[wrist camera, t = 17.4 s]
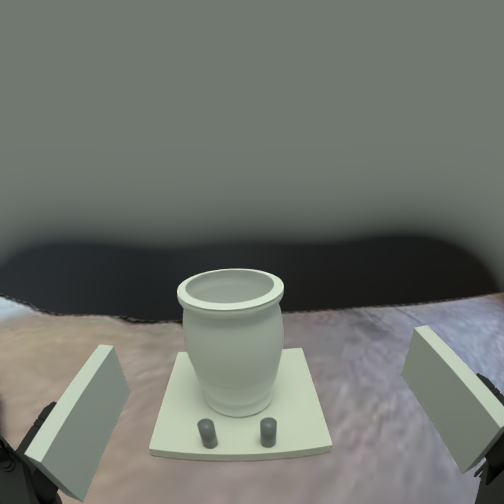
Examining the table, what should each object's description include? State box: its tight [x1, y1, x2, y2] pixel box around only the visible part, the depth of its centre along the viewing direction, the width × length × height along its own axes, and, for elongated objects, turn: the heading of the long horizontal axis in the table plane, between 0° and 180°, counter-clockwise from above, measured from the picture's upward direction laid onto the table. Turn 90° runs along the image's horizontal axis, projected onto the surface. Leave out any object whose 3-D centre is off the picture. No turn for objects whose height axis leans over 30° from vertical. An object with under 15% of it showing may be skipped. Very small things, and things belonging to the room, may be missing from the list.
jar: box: [177, 269, 284, 417], centre depth 29 cm, size 11×10×15 cm
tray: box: [149, 348, 332, 461], centre depth 31 cm, size 19×19×5 cm
